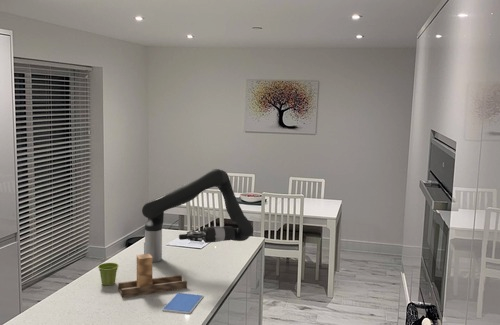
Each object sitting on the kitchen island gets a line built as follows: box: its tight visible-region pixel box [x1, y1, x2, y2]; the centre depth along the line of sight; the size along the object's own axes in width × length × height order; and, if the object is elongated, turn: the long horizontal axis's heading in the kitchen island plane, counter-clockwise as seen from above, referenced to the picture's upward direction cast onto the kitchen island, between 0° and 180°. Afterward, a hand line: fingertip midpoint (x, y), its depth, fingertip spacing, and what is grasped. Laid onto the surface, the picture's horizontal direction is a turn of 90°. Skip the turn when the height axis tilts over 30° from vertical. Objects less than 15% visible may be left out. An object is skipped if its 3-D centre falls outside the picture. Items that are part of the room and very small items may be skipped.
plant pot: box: [97, 262, 119, 286], centre depth 227 cm, size 9×9×9 cm
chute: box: [117, 274, 188, 299], centre depth 221 cm, size 30×10×4 cm, turn 115°
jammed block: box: [136, 253, 153, 287], centre depth 219 cm, size 6×6×15 cm
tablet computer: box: [161, 292, 204, 315], centre depth 206 cm, size 19×13×1 cm, turn 168°
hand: (179, 237), depth 225 cm, fingers closed
